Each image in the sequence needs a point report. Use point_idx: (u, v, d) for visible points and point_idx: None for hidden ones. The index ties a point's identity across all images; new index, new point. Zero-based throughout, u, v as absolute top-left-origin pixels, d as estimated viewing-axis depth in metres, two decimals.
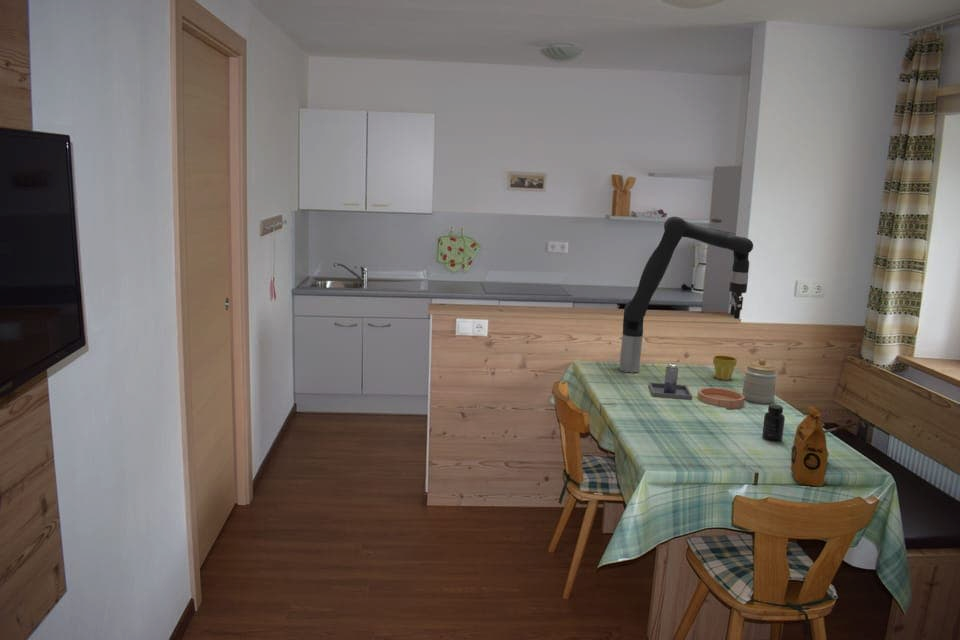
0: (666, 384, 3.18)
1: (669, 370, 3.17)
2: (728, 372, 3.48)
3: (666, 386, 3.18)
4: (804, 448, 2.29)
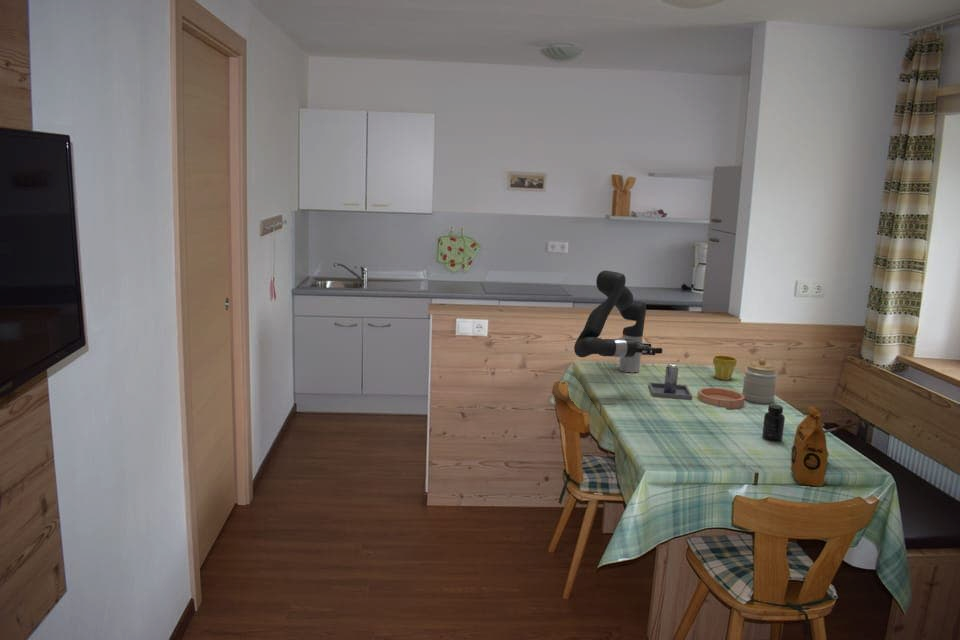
0: (666, 384, 3.18)
1: (669, 370, 3.17)
2: (728, 372, 3.48)
3: (666, 386, 3.18)
4: (804, 448, 2.29)
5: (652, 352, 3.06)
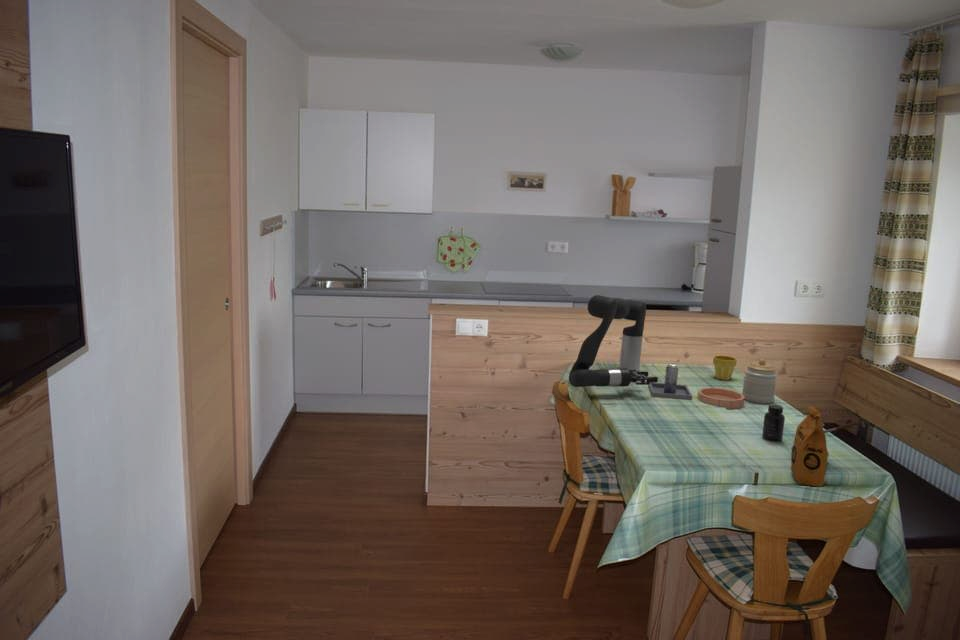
0: (666, 384, 3.18)
1: (669, 370, 3.17)
2: (728, 372, 3.48)
3: (666, 386, 3.18)
4: (804, 448, 2.29)
5: (647, 382, 3.10)
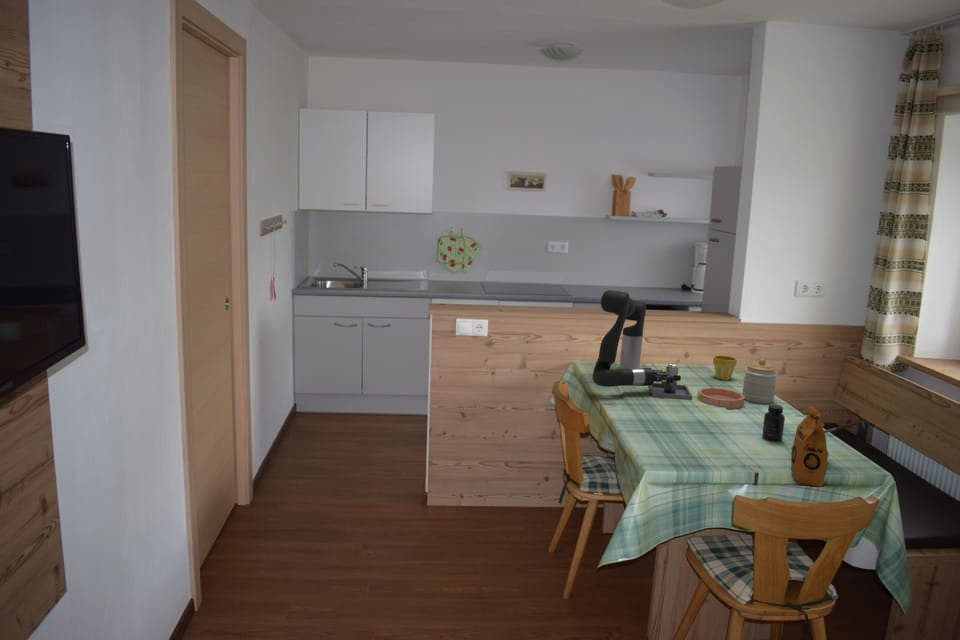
0: (666, 384, 3.18)
1: (669, 370, 3.17)
2: (728, 372, 3.48)
3: (666, 386, 3.18)
4: (804, 448, 2.29)
5: (670, 380, 3.14)
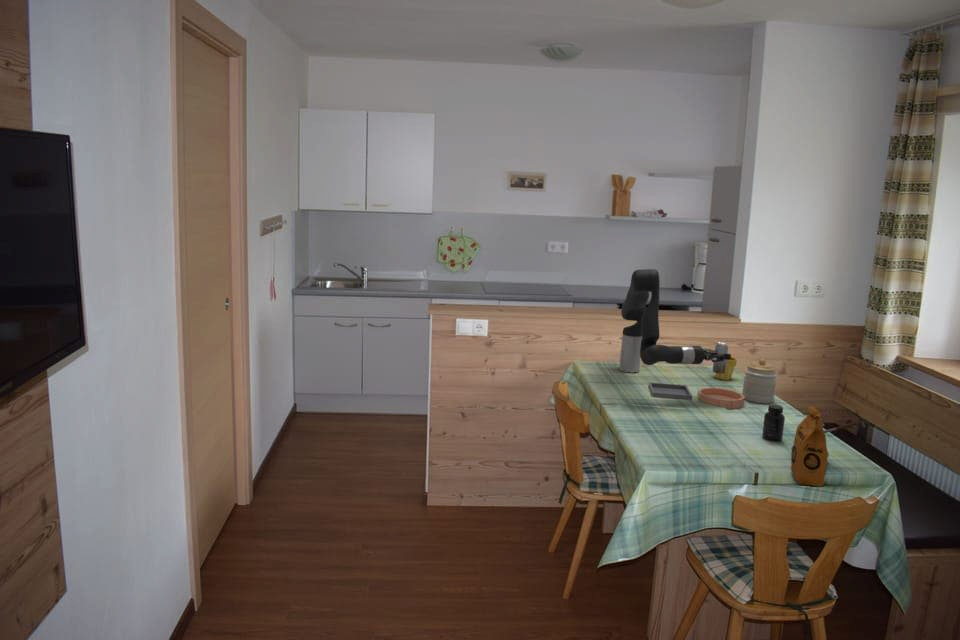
0: (715, 363, 3.09)
1: (719, 348, 3.08)
2: (728, 372, 3.48)
3: (715, 365, 3.09)
4: (804, 448, 2.29)
5: (720, 358, 3.05)
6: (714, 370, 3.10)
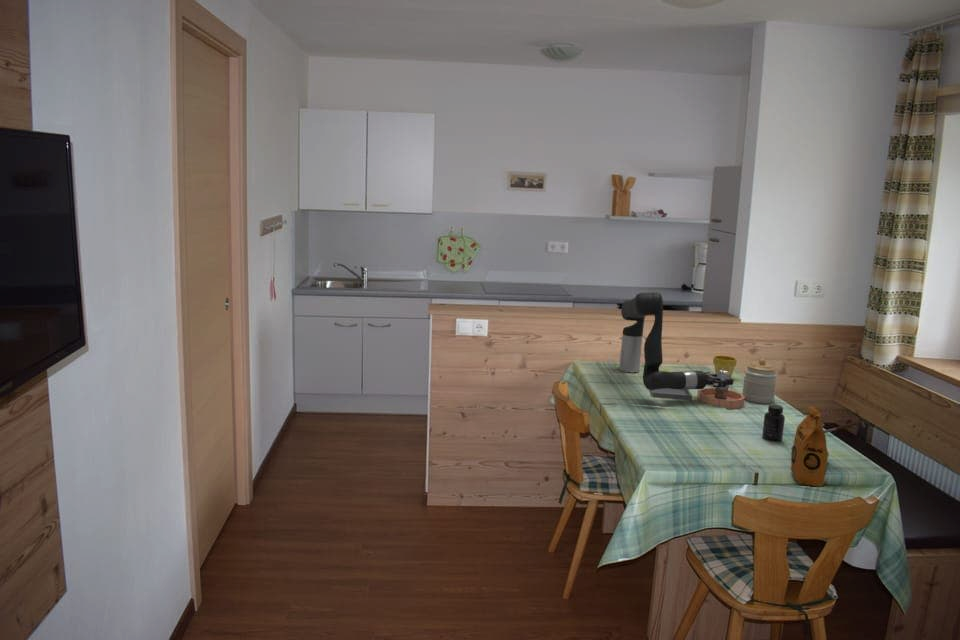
0: (717, 391, 3.11)
1: (721, 376, 3.10)
2: None
3: (717, 393, 3.11)
4: (804, 448, 2.29)
5: (723, 384, 3.05)
6: None
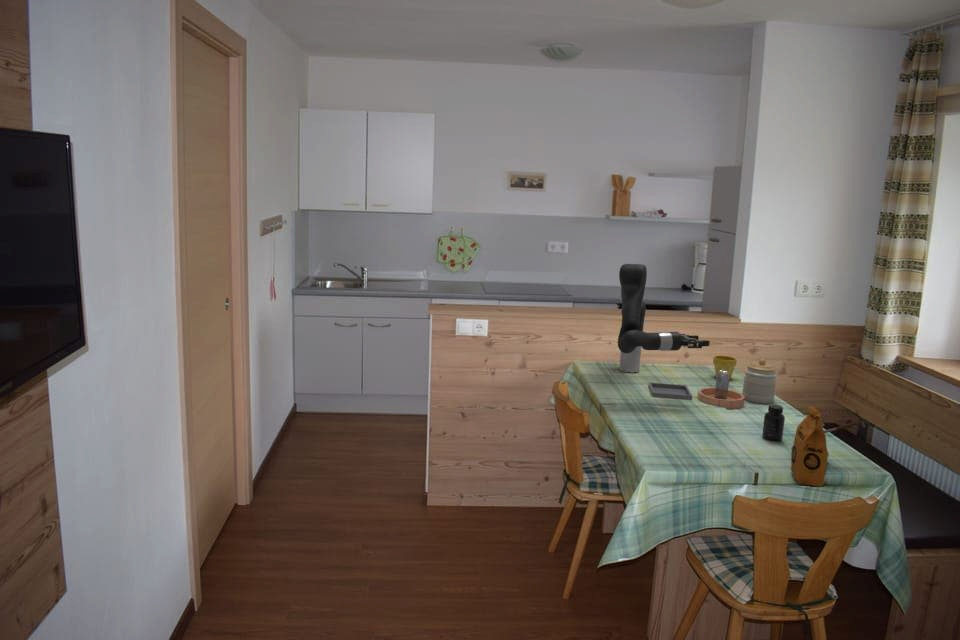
0: (717, 391, 3.11)
1: (720, 376, 3.10)
2: (728, 372, 3.48)
3: (717, 393, 3.11)
4: (804, 448, 2.29)
5: (699, 345, 2.99)
6: None
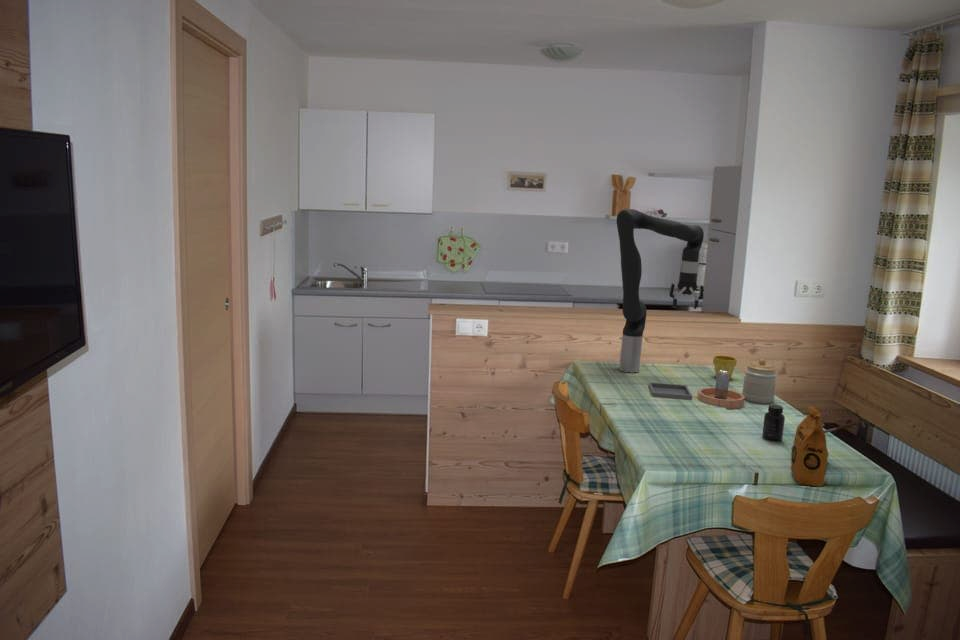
0: (717, 391, 3.11)
1: (720, 377, 3.10)
2: (728, 372, 3.48)
3: (717, 393, 3.11)
4: (804, 448, 2.29)
5: None
6: None
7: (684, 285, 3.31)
